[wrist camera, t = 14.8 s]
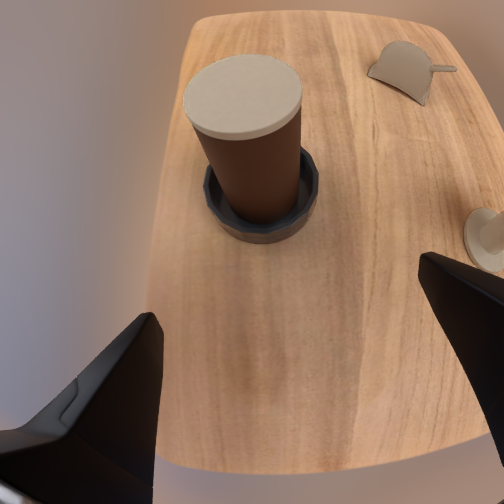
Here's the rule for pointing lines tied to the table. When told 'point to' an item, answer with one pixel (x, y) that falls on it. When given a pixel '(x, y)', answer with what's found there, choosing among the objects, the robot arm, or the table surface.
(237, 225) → the bowl
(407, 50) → the beige curved piece
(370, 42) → the table surface
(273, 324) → the table surface
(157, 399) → the robot arm
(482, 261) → the stand
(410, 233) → the table surface
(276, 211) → the brown lidded canister
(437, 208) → the table surface
